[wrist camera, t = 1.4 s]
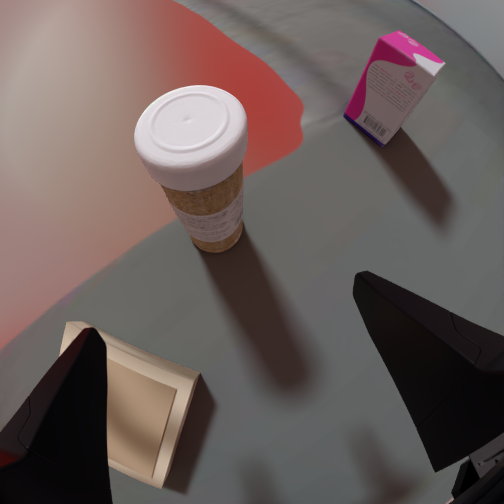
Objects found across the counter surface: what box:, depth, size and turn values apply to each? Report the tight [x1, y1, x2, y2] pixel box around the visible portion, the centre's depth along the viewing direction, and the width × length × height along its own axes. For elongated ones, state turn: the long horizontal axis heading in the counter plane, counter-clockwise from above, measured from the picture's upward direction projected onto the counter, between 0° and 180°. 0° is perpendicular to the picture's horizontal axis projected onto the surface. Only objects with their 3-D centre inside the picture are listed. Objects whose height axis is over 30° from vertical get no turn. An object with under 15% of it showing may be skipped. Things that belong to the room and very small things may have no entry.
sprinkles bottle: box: [134, 85, 248, 253], centre depth 16 cm, size 5×5×14 cm
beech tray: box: [59, 322, 200, 489], centre depth 17 cm, size 11×11×3 cm
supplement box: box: [343, 31, 445, 148], centre depth 20 cm, size 6×6×12 cm
